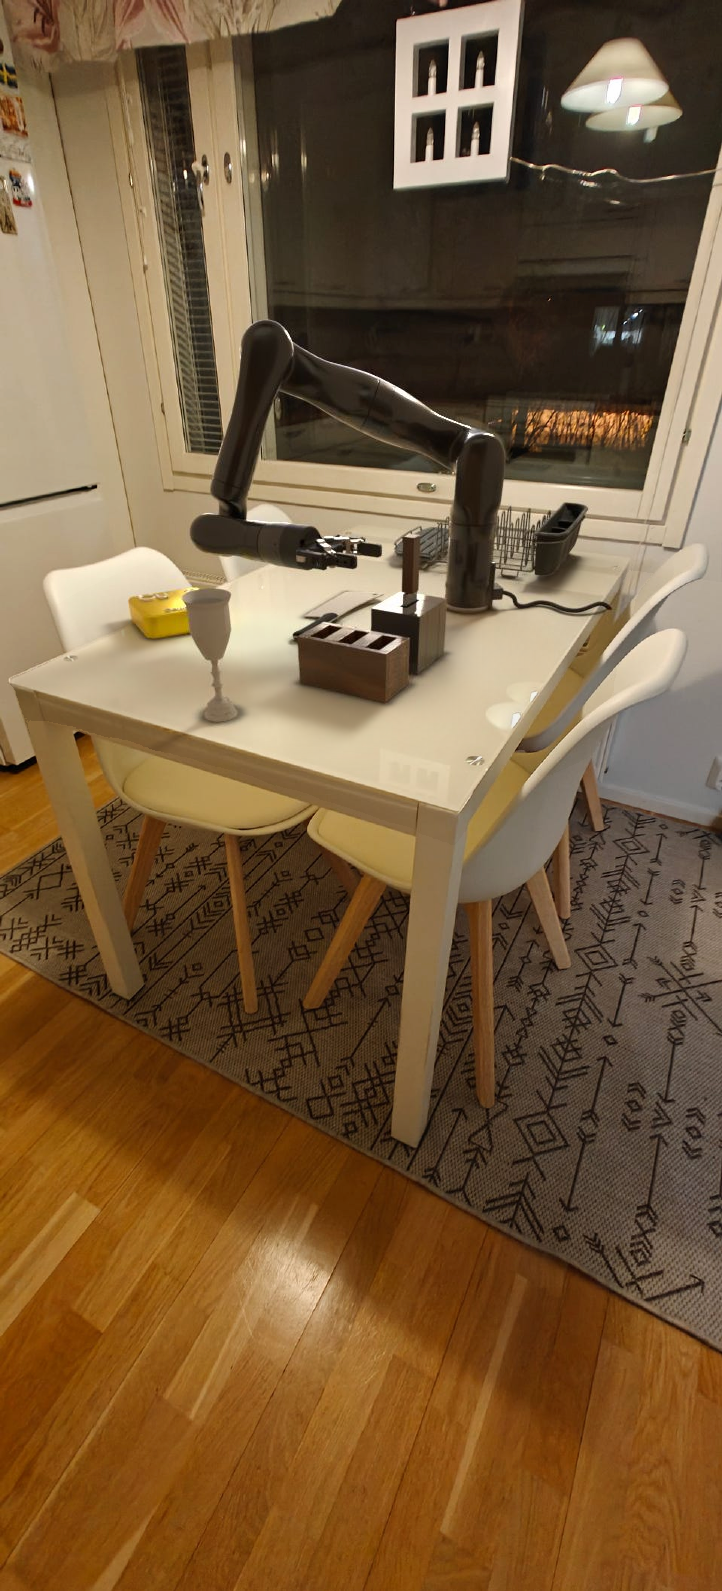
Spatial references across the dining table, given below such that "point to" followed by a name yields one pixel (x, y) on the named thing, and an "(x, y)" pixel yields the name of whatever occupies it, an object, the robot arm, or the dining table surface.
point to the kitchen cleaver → (337, 608)
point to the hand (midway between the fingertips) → (369, 556)
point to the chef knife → (410, 569)
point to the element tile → (160, 613)
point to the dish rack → (549, 544)
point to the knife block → (414, 626)
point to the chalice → (211, 641)
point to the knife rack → (354, 661)
